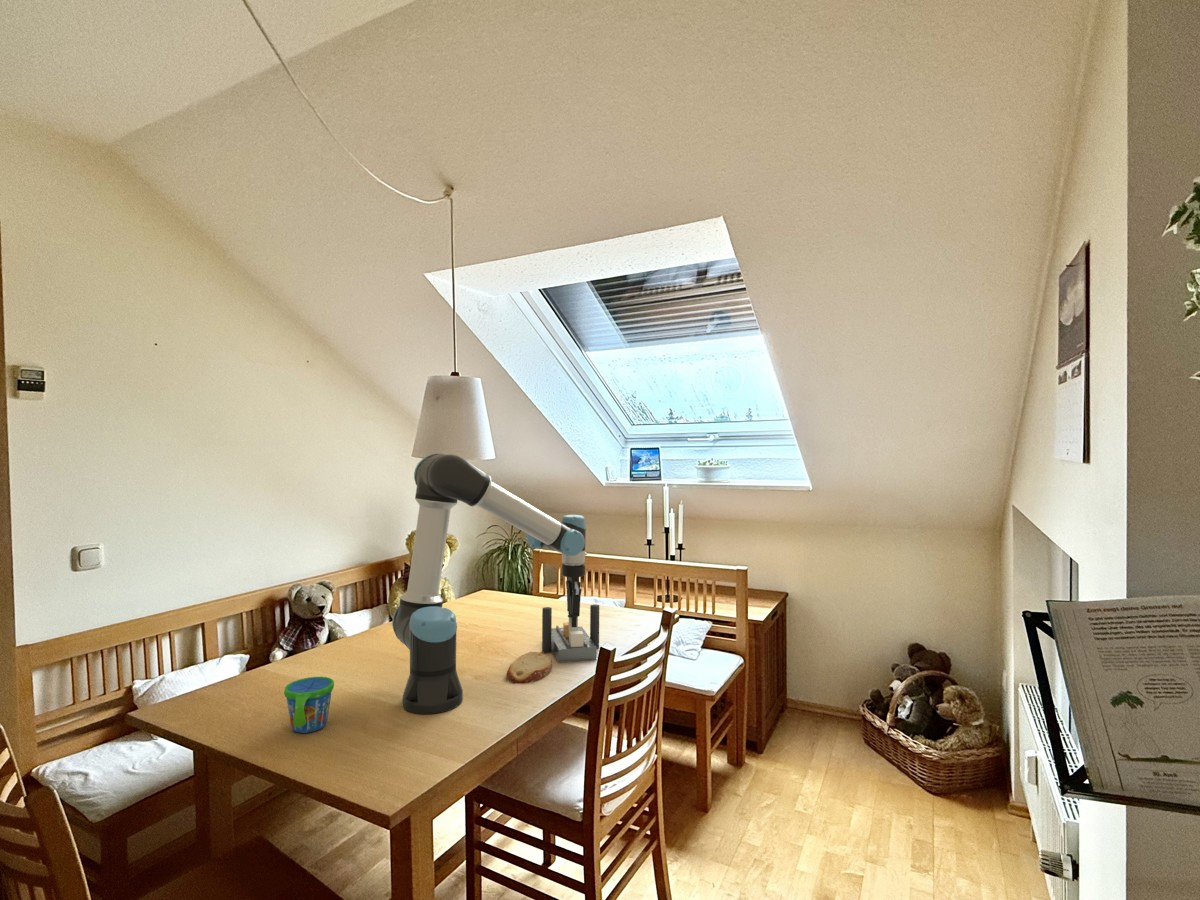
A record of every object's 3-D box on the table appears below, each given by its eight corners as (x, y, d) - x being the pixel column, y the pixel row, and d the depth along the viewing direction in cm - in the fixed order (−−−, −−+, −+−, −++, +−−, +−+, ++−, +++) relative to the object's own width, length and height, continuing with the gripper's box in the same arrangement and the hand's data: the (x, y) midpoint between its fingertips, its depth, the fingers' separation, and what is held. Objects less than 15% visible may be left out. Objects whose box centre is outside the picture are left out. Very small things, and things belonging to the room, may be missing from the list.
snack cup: (300, 713, 152) (301, 672, 152) (344, 712, 152) (344, 671, 152) (270, 743, 136) (270, 698, 136) (318, 742, 137) (319, 697, 137)
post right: (600, 648, 201) (600, 606, 201) (591, 649, 201) (591, 607, 200) (597, 645, 204) (598, 604, 204) (589, 646, 203) (589, 604, 203)
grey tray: (596, 659, 191) (596, 643, 191) (558, 662, 188) (558, 646, 188) (581, 637, 213) (581, 623, 212) (547, 640, 210) (547, 625, 210)
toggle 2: (583, 646, 191) (583, 633, 191) (570, 647, 190) (571, 634, 190) (581, 643, 194) (581, 630, 194) (569, 644, 193) (569, 631, 193)
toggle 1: (576, 636, 201) (576, 624, 201) (564, 637, 200) (565, 625, 200) (575, 633, 204) (575, 621, 204) (563, 634, 203) (563, 622, 203)
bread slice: (539, 656, 195) (539, 644, 195) (570, 674, 180) (570, 661, 180) (488, 668, 185) (488, 655, 184) (516, 687, 170) (516, 674, 170)
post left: (552, 652, 197) (552, 609, 197) (542, 653, 197) (543, 609, 196) (550, 649, 200) (550, 606, 200) (541, 650, 200) (541, 607, 199)
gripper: (589, 566, 191) (589, 641, 192) (580, 559, 204) (580, 629, 204) (566, 567, 190) (565, 643, 190) (558, 559, 202) (558, 630, 202)
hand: (573, 636), depth 197 cm, fingers closed
